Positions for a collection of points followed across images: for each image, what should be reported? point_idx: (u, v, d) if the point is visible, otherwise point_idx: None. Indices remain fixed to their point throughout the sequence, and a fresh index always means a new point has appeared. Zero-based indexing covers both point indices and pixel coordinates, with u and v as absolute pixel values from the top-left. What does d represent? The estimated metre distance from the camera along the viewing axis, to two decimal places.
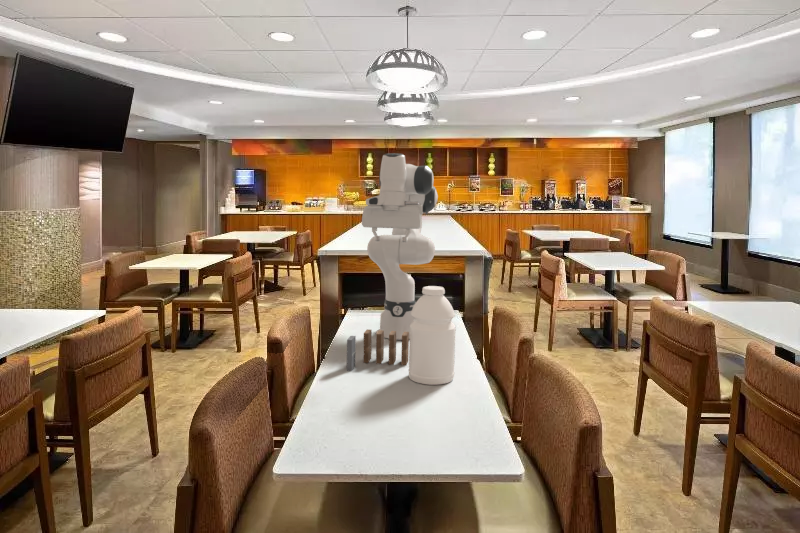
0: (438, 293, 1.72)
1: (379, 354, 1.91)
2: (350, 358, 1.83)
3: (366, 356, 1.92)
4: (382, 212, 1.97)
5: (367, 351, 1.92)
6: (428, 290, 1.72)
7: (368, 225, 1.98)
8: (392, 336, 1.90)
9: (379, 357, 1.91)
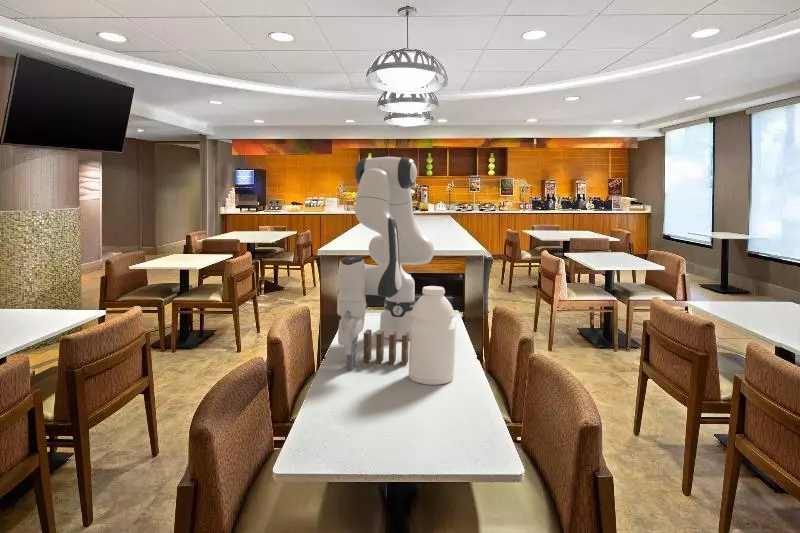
0: (438, 293, 1.72)
1: (379, 354, 1.91)
2: (350, 358, 1.83)
3: (366, 356, 1.92)
4: None
5: (367, 351, 1.92)
6: (428, 290, 1.72)
7: None
8: (392, 336, 1.90)
9: (379, 357, 1.91)
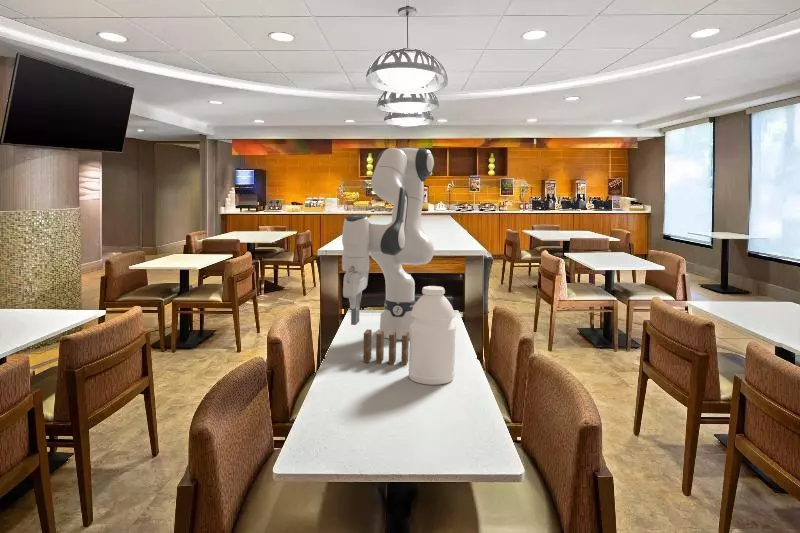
0: (438, 293, 1.72)
1: (379, 354, 1.91)
2: (354, 312, 1.90)
3: (366, 356, 1.92)
4: None
5: (367, 351, 1.92)
6: (428, 290, 1.72)
7: None
8: (392, 336, 1.90)
9: (379, 357, 1.91)
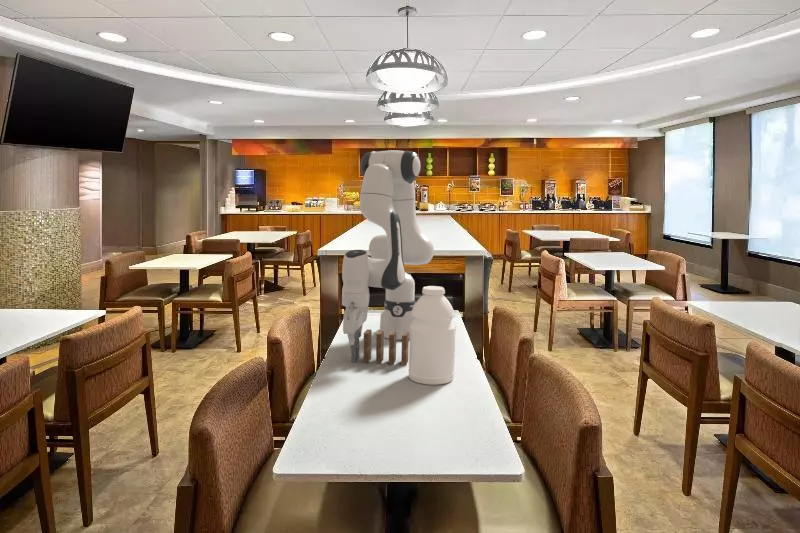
0: (438, 293, 1.72)
1: (379, 354, 1.91)
2: (354, 350, 1.92)
3: (366, 356, 1.92)
4: None
5: (367, 351, 1.92)
6: (428, 290, 1.72)
7: None
8: (392, 336, 1.90)
9: (379, 357, 1.91)
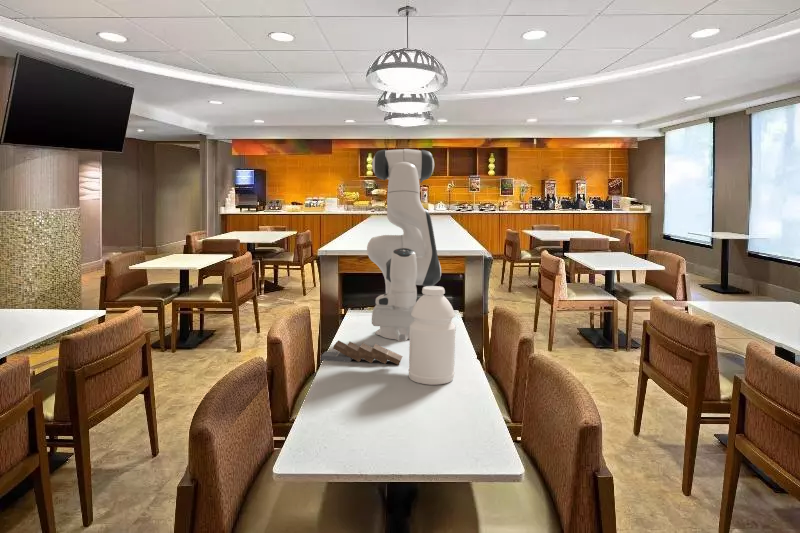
0: (438, 293, 1.72)
1: (364, 356, 1.92)
2: (338, 357, 1.93)
3: (354, 356, 1.92)
4: (393, 311, 1.89)
5: (350, 353, 1.93)
6: (428, 290, 1.72)
7: (378, 324, 1.90)
8: (360, 348, 1.91)
9: (367, 357, 1.92)
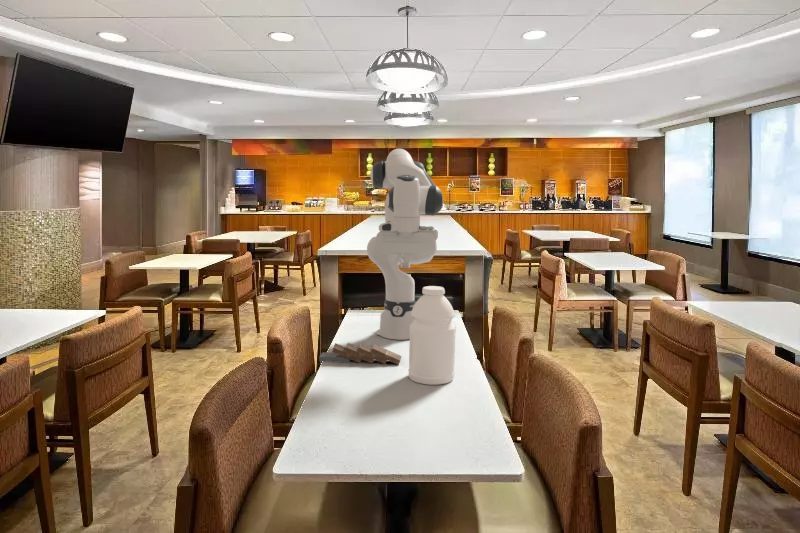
0: (438, 293, 1.72)
1: (364, 356, 1.91)
2: (337, 358, 1.93)
3: (354, 357, 1.92)
4: (396, 238, 1.90)
5: (350, 355, 1.92)
6: (428, 290, 1.72)
7: (381, 251, 1.91)
8: (360, 349, 1.91)
9: (367, 357, 1.91)
